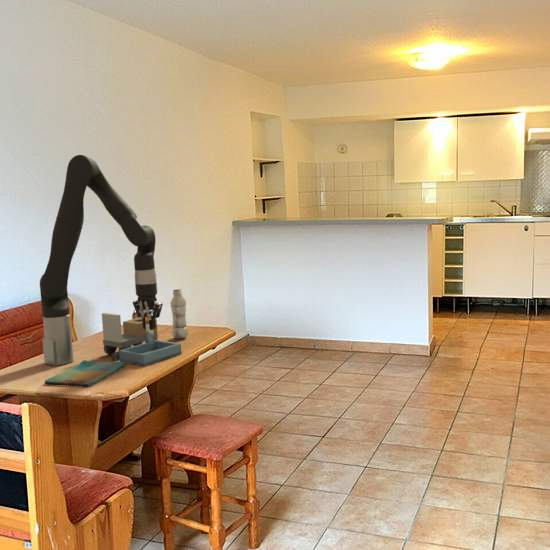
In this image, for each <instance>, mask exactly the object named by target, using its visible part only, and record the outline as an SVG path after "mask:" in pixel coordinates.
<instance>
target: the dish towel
mask: <svg viewBox="0 0 550 550" xmlns="http://www.w3.org/2000/svg"><path fill="white" fill-rule="evenodd" d="M125 366H126V363H124V362H122V361H120V360H118V361H101V362H99V361H89V360H86V359H85V360H81V362H80V363H79V364H77V365H76V366H73V367H70V368H68V369H66V370H63V371H62V372H60V373H58V374H55V375H54V376H52V377H49V378H47V379H45V380H44V383H43V384H44V385H45V384H47V385H46V386H55V385H66V386H65V387H74V386H82V387H81V388H91V387H92V386H95V385H96V384H99V383H100V382H101V381H103V380H105V379H107V378H108V376H109V377H110V375H111V376H112V375H114V374H116V373H118V372H119V371H122V369H124V368H125ZM117 371H118V372H117ZM115 372H116V373H115ZM67 385H68V386H67Z"/></svg>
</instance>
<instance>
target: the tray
mask: <svg viewBox="0 0 550 550" xmlns="http://www.w3.org/2000/svg"><path fill="white" fill-rule="evenodd" d="M118 352H119V357H120V360H119V361H122V362H124V363H125V364H129V365H134V366H135V365H136V366H141V367H147V366H151V365H153V364H156V363H160V362H163V361H165V360H169V359H172V358H174V357H178V356H181V355H182V343H179V342H171V341H165V340H160V339H157V340H154V343H153V344H147V343H142V344H141V345H137V346H131V347H130V348H127V349H123V350H120V351H119V350H118ZM177 355H178V356H177Z"/></svg>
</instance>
